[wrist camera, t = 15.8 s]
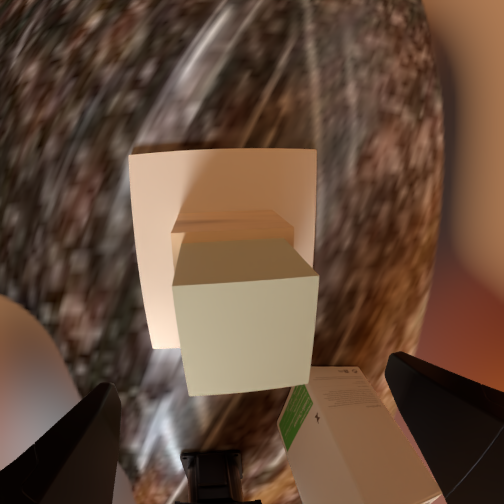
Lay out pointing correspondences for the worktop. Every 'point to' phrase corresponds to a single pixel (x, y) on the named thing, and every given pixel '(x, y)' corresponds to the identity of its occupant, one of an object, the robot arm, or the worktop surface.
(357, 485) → the skincare box
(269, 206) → the baseplate
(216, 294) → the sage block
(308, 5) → the worktop surface
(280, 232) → the maple block
